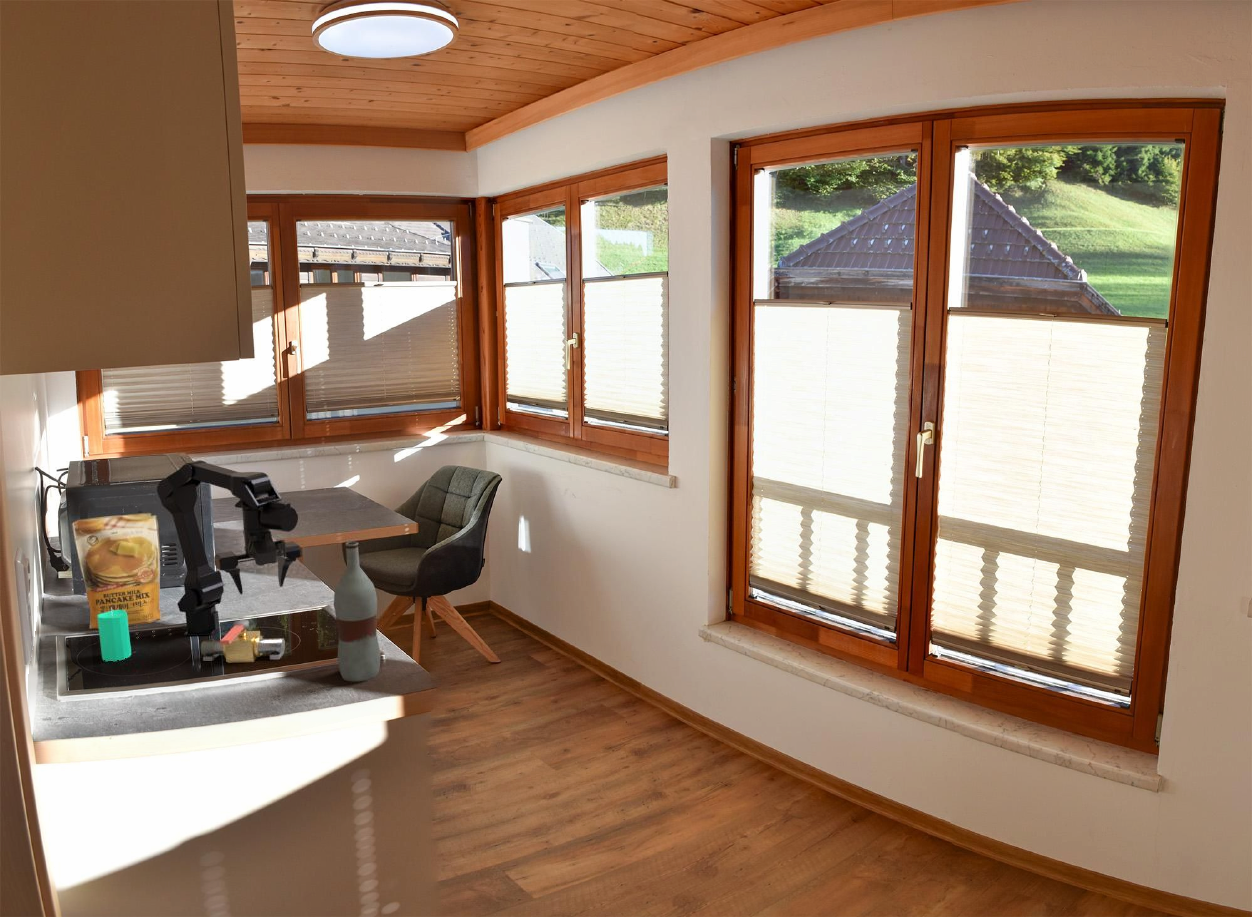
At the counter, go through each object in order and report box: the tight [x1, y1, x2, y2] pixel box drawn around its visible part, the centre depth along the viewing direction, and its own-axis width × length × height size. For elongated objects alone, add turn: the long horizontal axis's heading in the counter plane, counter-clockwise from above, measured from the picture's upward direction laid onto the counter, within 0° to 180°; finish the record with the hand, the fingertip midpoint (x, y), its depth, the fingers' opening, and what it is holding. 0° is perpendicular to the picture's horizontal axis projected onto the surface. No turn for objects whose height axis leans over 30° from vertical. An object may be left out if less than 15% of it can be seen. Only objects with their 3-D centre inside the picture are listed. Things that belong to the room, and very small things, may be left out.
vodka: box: [333, 541, 382, 683], centre depth 207 cm, size 9×9×30 cm
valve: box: [200, 628, 286, 664], centre depth 219 cm, size 18×6×7 cm, turn 94°
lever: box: [220, 619, 250, 645], centre depth 214 cm, size 12×3×1 cm, turn 4°
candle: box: [97, 607, 132, 662], centre depth 220 cm, size 6×6×12 cm
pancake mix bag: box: [70, 512, 163, 630], centre depth 240 cm, size 7×19×28 cm, turn 115°
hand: (261, 590), depth 226 cm, fingers open, 9 cm apart
